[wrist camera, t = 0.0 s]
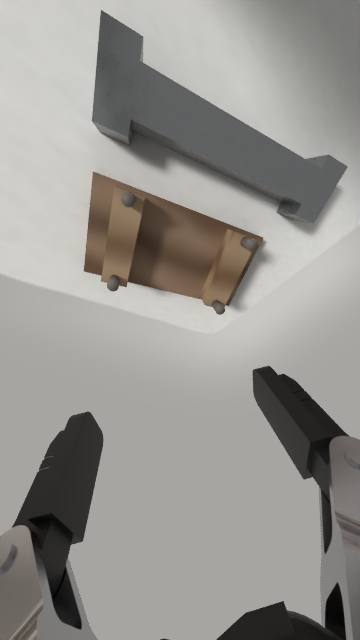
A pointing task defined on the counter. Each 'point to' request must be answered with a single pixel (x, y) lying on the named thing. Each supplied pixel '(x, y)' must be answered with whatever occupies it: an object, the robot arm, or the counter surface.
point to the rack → (164, 245)
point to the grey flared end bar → (200, 128)
